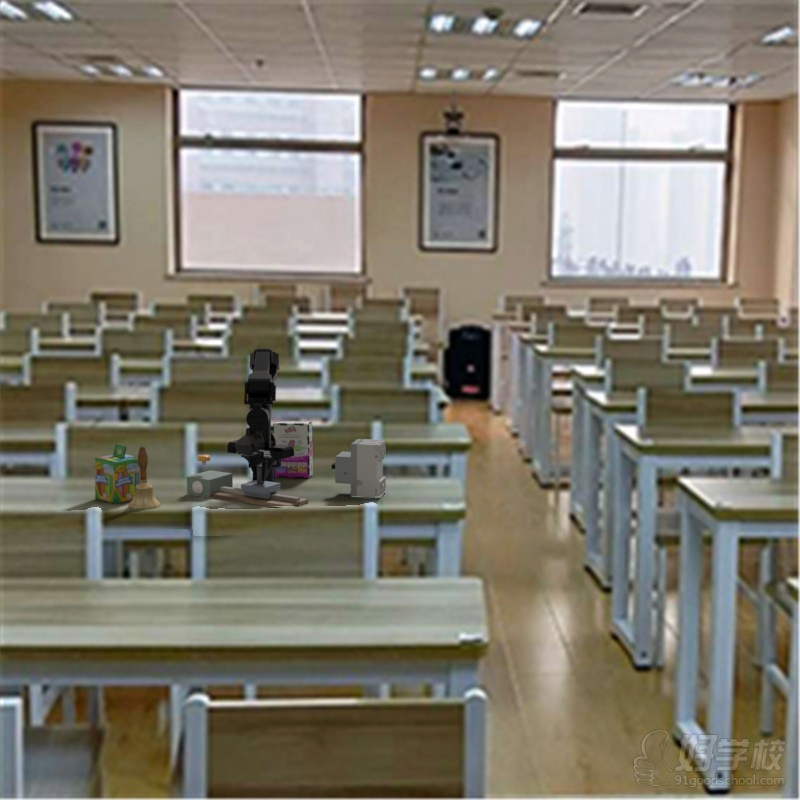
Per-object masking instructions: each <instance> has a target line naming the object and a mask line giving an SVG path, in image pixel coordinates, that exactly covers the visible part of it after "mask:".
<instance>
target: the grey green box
mask: <svg viewBox="0 0 800 800" xmlns="http://www.w3.org/2000/svg"><path fill="white" fill-rule="evenodd" d="M221 486H226V487H233V473H231V472H227V471H226V472H224V471H219V470H218V471H217V470H213V469H212V470H207V471H203V472H199V473H195V474H192V475H191V474H190V475H188V476H186V492H187V493H186V495H189V496H194V497H195V496H196V497H202V498H208V499H210V498H211V494H212V493H216V492H219V487H221ZM233 488H234V487H233Z"/></svg>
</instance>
